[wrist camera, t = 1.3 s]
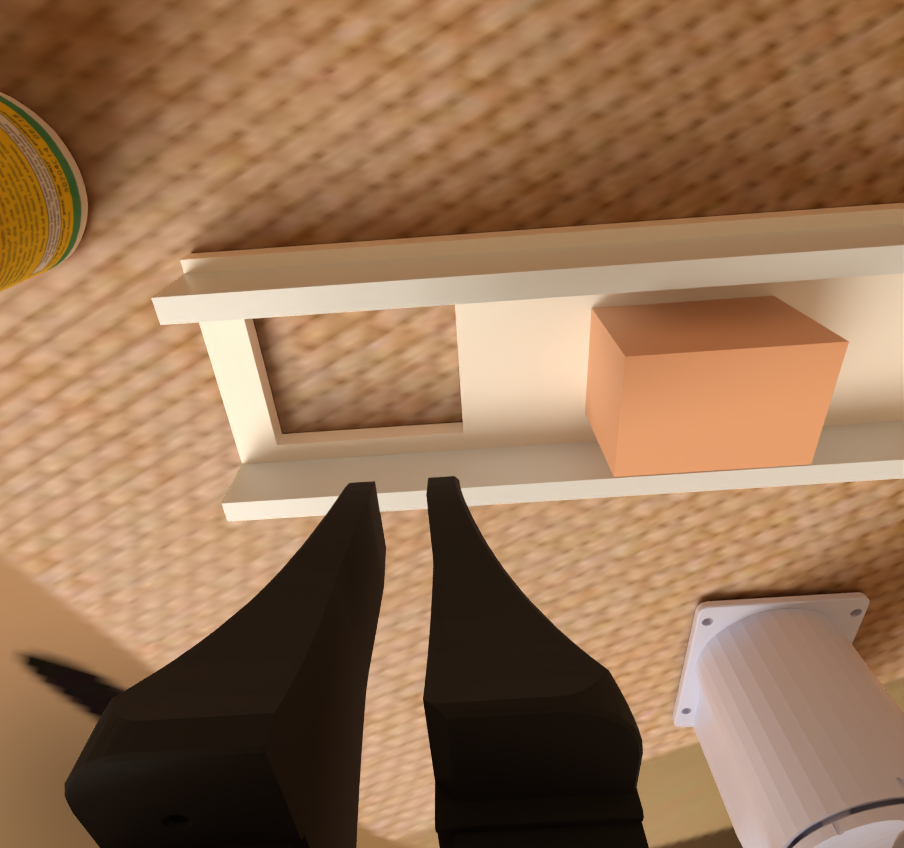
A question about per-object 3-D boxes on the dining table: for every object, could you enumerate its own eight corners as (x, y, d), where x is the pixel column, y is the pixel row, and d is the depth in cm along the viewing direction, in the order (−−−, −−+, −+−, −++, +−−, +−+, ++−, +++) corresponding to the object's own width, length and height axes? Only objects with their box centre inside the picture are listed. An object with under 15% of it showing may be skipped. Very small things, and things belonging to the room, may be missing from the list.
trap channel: (879, 438, 23) (940, 486, 20) (255, 478, 23) (230, 531, 20) (967, 198, 18) (1063, 217, 15) (189, 253, 18) (145, 282, 16)
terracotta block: (749, 402, 21) (811, 464, 17) (584, 413, 21) (614, 476, 17) (773, 295, 19) (849, 341, 15) (591, 308, 19) (625, 356, 15)
